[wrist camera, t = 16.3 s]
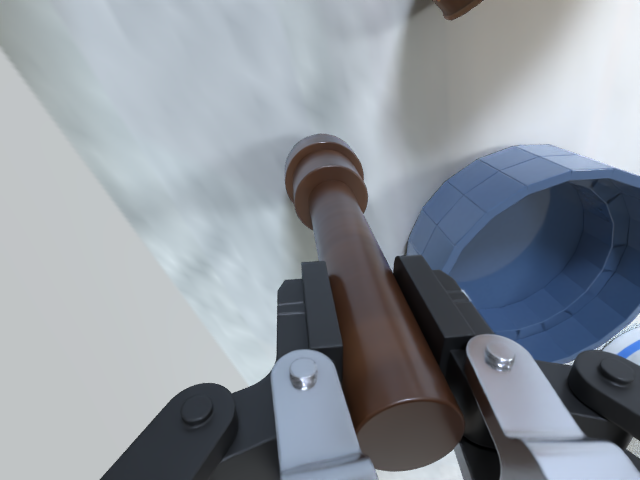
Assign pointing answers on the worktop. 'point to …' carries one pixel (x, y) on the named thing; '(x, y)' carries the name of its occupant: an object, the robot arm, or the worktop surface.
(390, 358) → the muddler
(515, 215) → the bowl
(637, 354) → the supplement tub
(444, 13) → the tin
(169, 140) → the worktop surface
